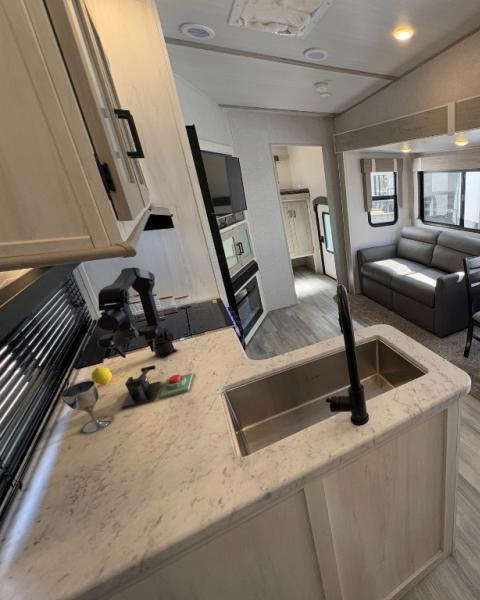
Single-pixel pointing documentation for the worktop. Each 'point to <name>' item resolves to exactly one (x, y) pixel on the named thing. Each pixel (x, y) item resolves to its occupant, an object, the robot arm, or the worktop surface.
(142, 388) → the bracket
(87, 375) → the worktop surface
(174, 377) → the button
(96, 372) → the lemon
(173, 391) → the control block
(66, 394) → the wine glass
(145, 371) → the lever
